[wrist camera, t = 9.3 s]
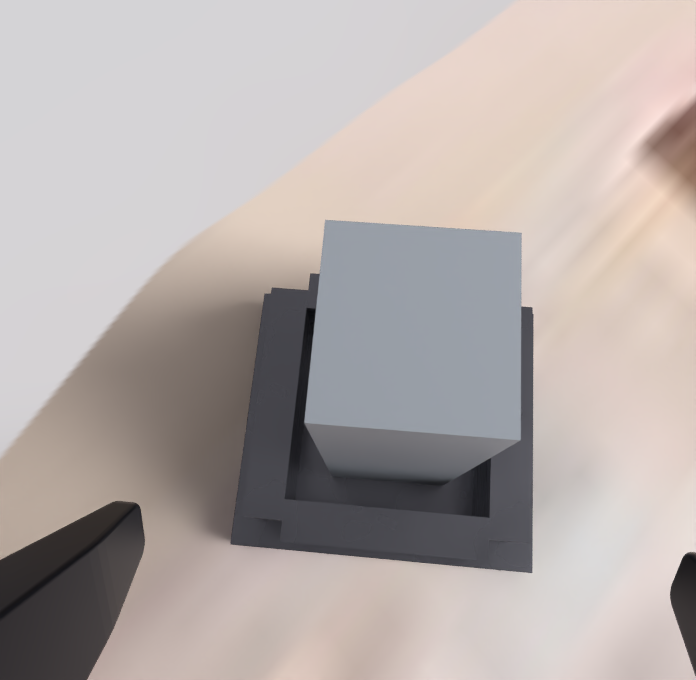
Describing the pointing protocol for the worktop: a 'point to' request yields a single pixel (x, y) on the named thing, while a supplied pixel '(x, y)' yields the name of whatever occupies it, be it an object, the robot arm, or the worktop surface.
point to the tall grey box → (415, 351)
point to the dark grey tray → (364, 494)
